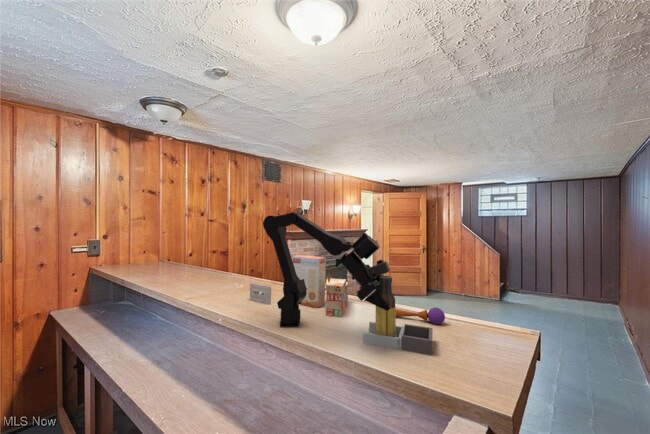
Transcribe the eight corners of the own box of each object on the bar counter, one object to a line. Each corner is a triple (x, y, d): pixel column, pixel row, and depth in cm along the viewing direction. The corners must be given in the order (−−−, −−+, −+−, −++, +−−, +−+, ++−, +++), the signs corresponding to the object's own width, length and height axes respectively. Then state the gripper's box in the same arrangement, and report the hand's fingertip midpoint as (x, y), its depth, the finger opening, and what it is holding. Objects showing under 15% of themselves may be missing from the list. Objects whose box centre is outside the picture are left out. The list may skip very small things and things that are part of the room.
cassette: (271, 304, 128) (272, 286, 128) (268, 305, 127) (269, 287, 127) (251, 299, 134) (252, 282, 134) (248, 300, 133) (249, 283, 133)
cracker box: (325, 305, 129) (326, 257, 129) (317, 308, 124) (319, 258, 124) (299, 299, 136) (300, 254, 136) (291, 302, 131) (292, 255, 131)
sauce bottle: (394, 336, 96) (395, 275, 96) (396, 344, 90) (398, 279, 90) (374, 335, 97) (375, 274, 97) (375, 343, 91) (377, 278, 91)
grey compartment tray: (362, 343, 91) (362, 329, 91) (369, 330, 101) (370, 318, 101) (432, 355, 84) (432, 341, 84) (432, 340, 94) (432, 327, 94)
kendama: (391, 304, 120) (444, 307, 112) (391, 319, 119) (445, 324, 111) (388, 305, 115) (444, 308, 107) (388, 321, 113) (445, 326, 106)
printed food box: (334, 301, 136) (335, 274, 136) (347, 302, 135) (348, 275, 135) (325, 316, 115) (326, 284, 115) (341, 317, 114) (342, 285, 114)
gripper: (369, 255, 86) (407, 297, 83) (379, 249, 104) (411, 284, 100) (342, 279, 89) (378, 322, 85) (357, 270, 107) (387, 304, 103)
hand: (390, 306), depth 93 cm, fingers open, 7 cm apart
